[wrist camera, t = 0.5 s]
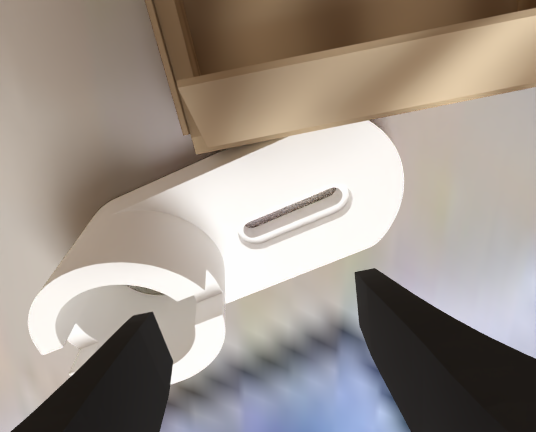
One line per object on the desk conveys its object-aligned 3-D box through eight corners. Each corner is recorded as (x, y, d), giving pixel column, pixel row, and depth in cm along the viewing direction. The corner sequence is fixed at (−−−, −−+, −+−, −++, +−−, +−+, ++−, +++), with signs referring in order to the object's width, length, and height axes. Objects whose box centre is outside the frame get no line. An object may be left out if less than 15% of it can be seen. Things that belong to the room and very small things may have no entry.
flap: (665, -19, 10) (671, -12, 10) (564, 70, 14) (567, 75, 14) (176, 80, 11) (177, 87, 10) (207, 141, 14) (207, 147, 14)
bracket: (138, 314, 23) (110, 407, 17) (53, 225, 19) (-22, 310, 13) (396, 211, 21) (459, 277, 16) (369, 85, 17) (444, 112, 11)
